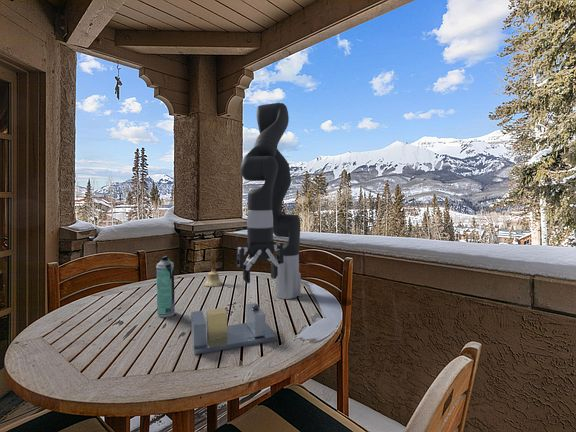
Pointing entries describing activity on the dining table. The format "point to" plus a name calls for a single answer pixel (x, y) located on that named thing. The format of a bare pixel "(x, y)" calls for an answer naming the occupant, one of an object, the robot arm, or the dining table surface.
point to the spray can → (165, 288)
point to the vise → (235, 338)
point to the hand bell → (213, 273)
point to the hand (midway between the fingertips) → (260, 280)
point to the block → (216, 323)
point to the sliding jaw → (255, 319)
